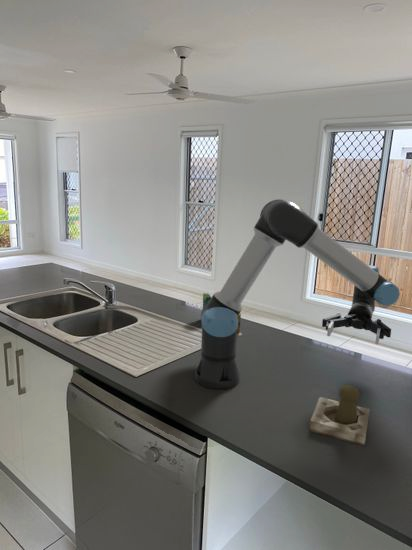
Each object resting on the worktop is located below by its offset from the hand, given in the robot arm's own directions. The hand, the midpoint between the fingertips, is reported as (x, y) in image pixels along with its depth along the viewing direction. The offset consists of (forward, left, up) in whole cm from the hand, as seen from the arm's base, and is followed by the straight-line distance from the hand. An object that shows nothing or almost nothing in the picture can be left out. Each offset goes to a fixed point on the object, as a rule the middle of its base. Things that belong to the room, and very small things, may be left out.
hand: (352, 335), depth 118 cm
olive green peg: (+2, -12, -22) cm, 25 cm away
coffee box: (-69, +45, -22) cm, 85 cm away
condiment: (-53, +37, -22) cm, 68 cm away
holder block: (0, -13, -22) cm, 25 cm away
